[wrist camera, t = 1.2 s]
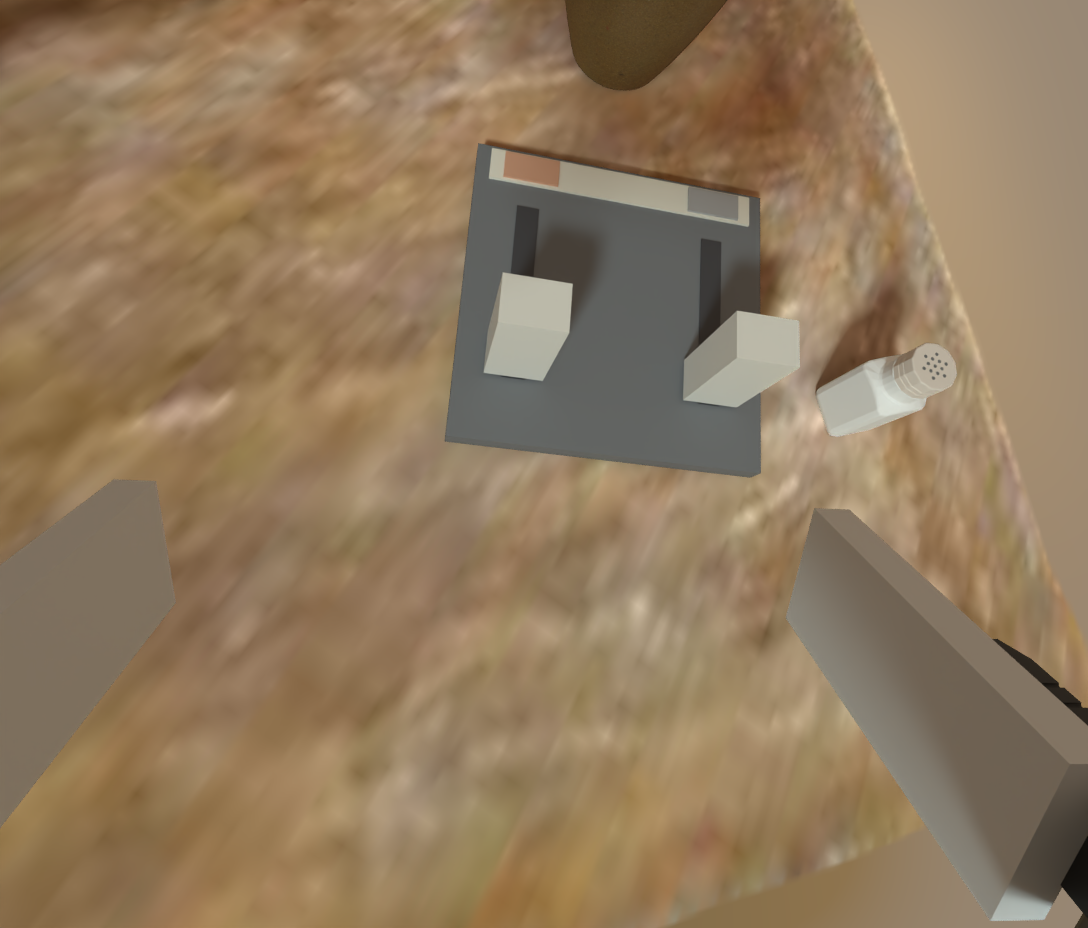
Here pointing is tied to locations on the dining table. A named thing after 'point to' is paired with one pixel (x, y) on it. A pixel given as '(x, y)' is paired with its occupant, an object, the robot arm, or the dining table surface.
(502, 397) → the switch panel
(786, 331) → the tab
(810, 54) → the dining table surface
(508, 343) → the tab
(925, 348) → the pepper shaker
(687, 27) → the plant pot
